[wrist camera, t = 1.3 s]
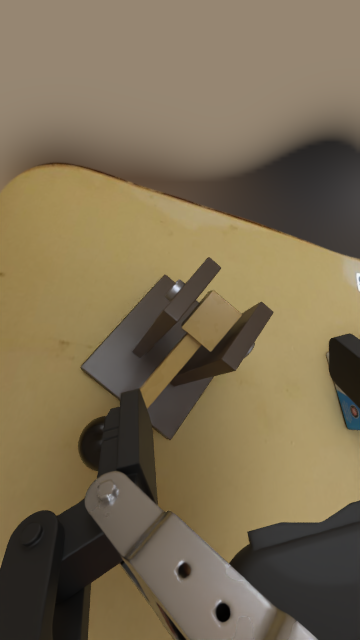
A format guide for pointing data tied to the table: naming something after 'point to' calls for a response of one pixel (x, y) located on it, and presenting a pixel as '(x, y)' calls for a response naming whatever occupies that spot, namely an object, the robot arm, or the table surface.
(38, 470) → the table surface
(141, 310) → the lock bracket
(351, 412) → the ink box
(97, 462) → the lever
